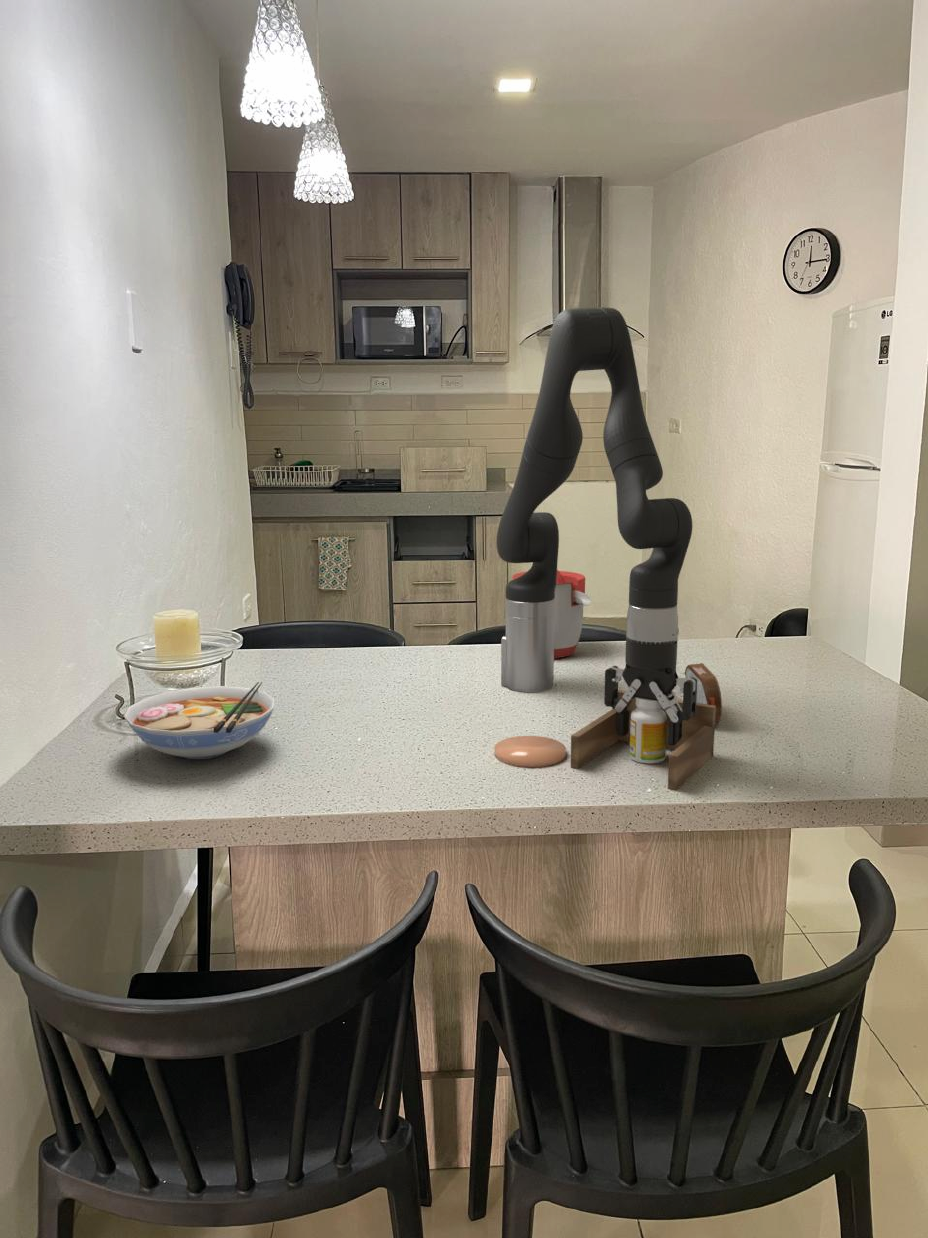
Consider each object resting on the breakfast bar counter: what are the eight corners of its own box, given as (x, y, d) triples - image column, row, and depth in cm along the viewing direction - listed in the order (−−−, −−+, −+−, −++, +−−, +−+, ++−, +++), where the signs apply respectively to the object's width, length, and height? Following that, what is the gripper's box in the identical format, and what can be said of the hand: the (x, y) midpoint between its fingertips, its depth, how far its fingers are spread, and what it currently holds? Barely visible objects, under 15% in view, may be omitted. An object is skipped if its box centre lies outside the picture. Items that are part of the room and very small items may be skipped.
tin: (722, 730, 157) (725, 681, 155) (703, 730, 157) (705, 681, 155) (698, 702, 172) (700, 657, 170) (681, 702, 172) (683, 657, 170)
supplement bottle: (672, 757, 145) (674, 696, 143) (653, 767, 141) (655, 705, 139) (641, 749, 149) (643, 689, 146) (622, 758, 145) (624, 697, 143)
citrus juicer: (570, 667, 195) (572, 571, 191) (498, 655, 205) (498, 564, 200) (603, 651, 208) (605, 560, 204) (533, 641, 217) (534, 554, 213)
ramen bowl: (159, 725, 162) (155, 679, 160) (293, 725, 161) (290, 679, 159) (100, 782, 137) (94, 728, 135) (256, 782, 137) (253, 728, 135)
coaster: (481, 758, 145) (481, 752, 145) (516, 737, 154) (517, 731, 154) (544, 772, 139) (544, 766, 139) (577, 750, 148) (578, 744, 148)
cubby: (570, 767, 141) (571, 716, 140) (614, 736, 154) (616, 689, 153) (675, 790, 133) (678, 736, 131) (713, 755, 146) (715, 705, 144)
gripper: (596, 633, 141) (594, 738, 145) (689, 645, 134) (684, 755, 137) (617, 623, 147) (614, 724, 151) (707, 635, 140) (702, 740, 143)
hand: (648, 739), depth 144 cm, fingers open, 7 cm apart
